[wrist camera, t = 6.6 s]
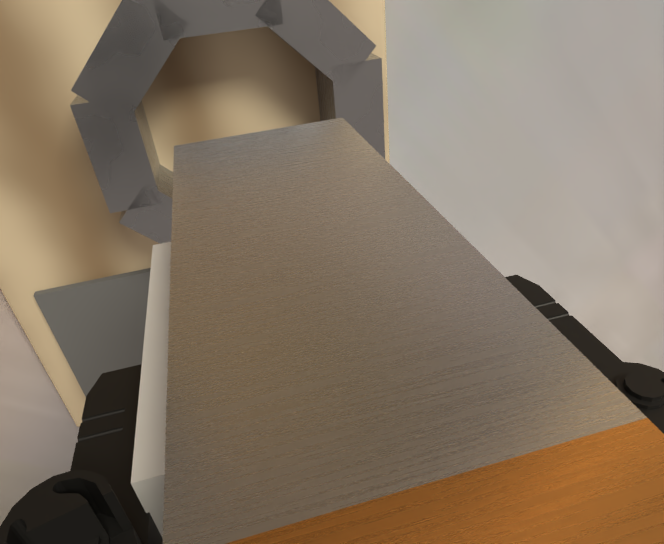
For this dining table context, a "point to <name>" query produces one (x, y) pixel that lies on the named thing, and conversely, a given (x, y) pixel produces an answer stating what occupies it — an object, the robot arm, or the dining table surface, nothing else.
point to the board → (165, 125)
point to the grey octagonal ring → (150, 55)
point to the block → (373, 369)
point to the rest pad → (98, 323)
